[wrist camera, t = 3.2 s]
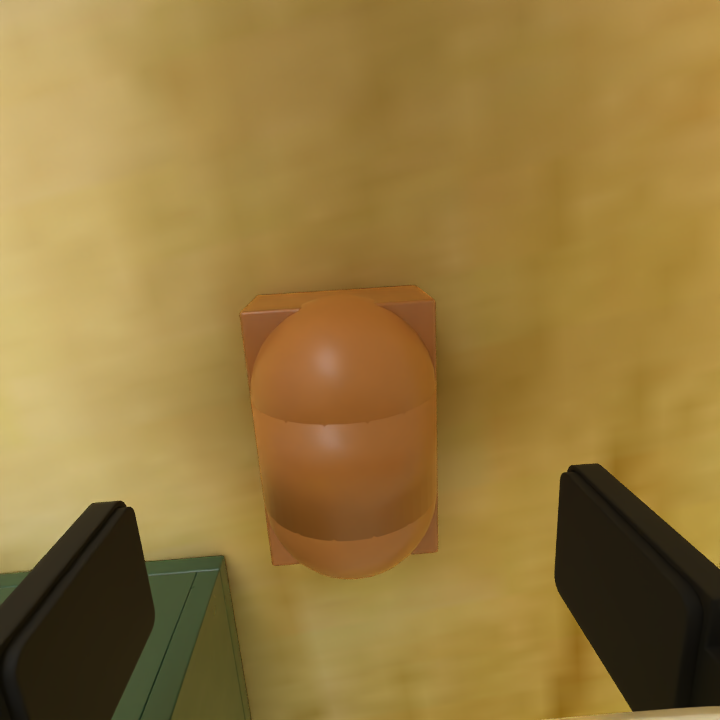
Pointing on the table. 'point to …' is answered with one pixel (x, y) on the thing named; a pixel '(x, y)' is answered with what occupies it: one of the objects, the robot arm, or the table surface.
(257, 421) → the bread roll
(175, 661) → the box
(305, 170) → the table surface
